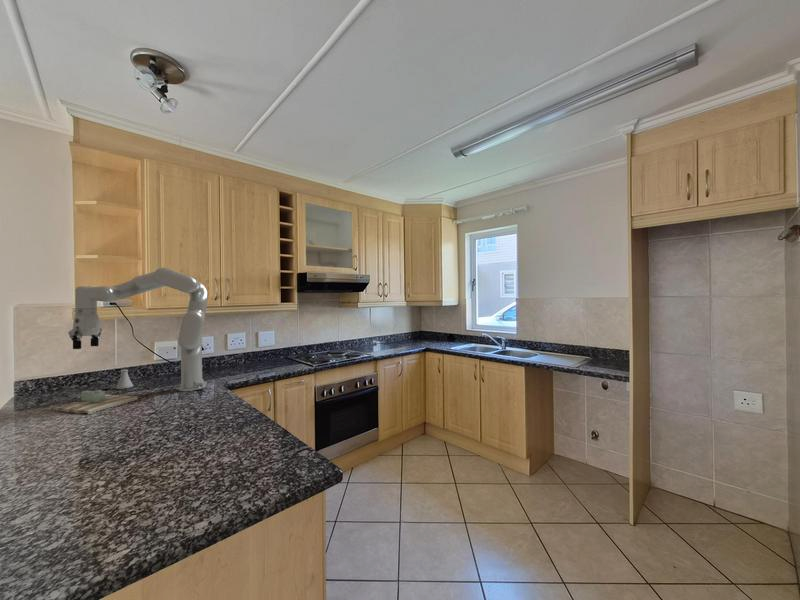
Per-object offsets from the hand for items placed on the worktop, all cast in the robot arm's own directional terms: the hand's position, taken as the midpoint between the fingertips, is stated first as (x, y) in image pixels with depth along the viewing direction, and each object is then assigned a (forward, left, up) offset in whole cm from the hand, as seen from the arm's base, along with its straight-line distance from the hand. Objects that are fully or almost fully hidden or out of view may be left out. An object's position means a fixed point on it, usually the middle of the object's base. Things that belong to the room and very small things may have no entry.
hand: (86, 347), depth 156 cm
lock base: (-13, +4, -26) cm, 29 cm away
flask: (+8, -22, -26) cm, 35 cm away
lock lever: (-9, +4, -24) cm, 26 cm away
